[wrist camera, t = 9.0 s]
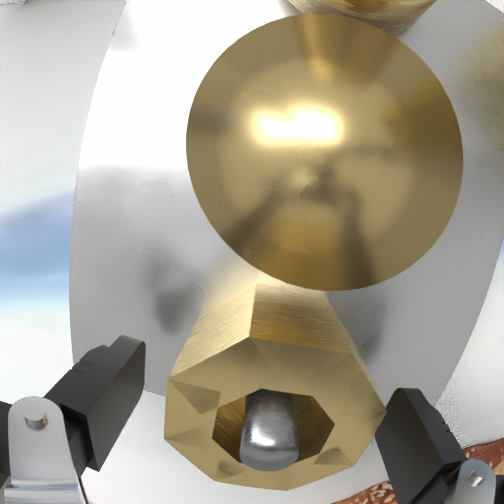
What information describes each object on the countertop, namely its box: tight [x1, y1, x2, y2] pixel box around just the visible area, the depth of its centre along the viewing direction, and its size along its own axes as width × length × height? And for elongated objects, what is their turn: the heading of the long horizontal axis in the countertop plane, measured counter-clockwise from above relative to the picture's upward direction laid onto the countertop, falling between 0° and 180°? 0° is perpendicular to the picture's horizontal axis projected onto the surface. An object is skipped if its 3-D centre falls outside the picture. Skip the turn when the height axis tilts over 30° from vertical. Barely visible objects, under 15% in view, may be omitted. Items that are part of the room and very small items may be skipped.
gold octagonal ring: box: [164, 283, 387, 491], centre depth 9 cm, size 6×6×4 cm
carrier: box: [69, 0, 504, 471], centre depth 7 cm, size 16×20×6 cm
